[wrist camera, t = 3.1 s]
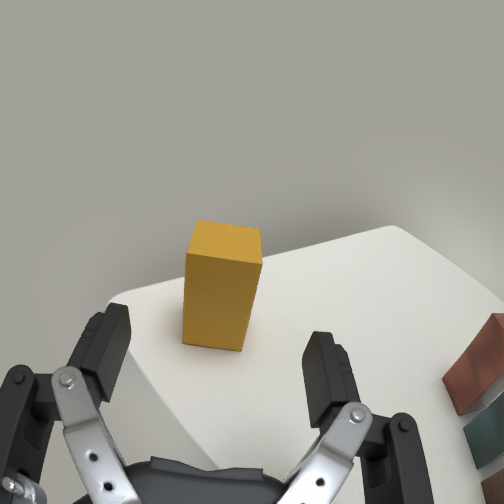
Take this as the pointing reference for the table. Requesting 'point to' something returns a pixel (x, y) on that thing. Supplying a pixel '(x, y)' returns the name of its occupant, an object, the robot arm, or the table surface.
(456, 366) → the three coloured blocks
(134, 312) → the table surface
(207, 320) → the block
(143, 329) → the table surface
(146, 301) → the table surface
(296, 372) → the table surface
